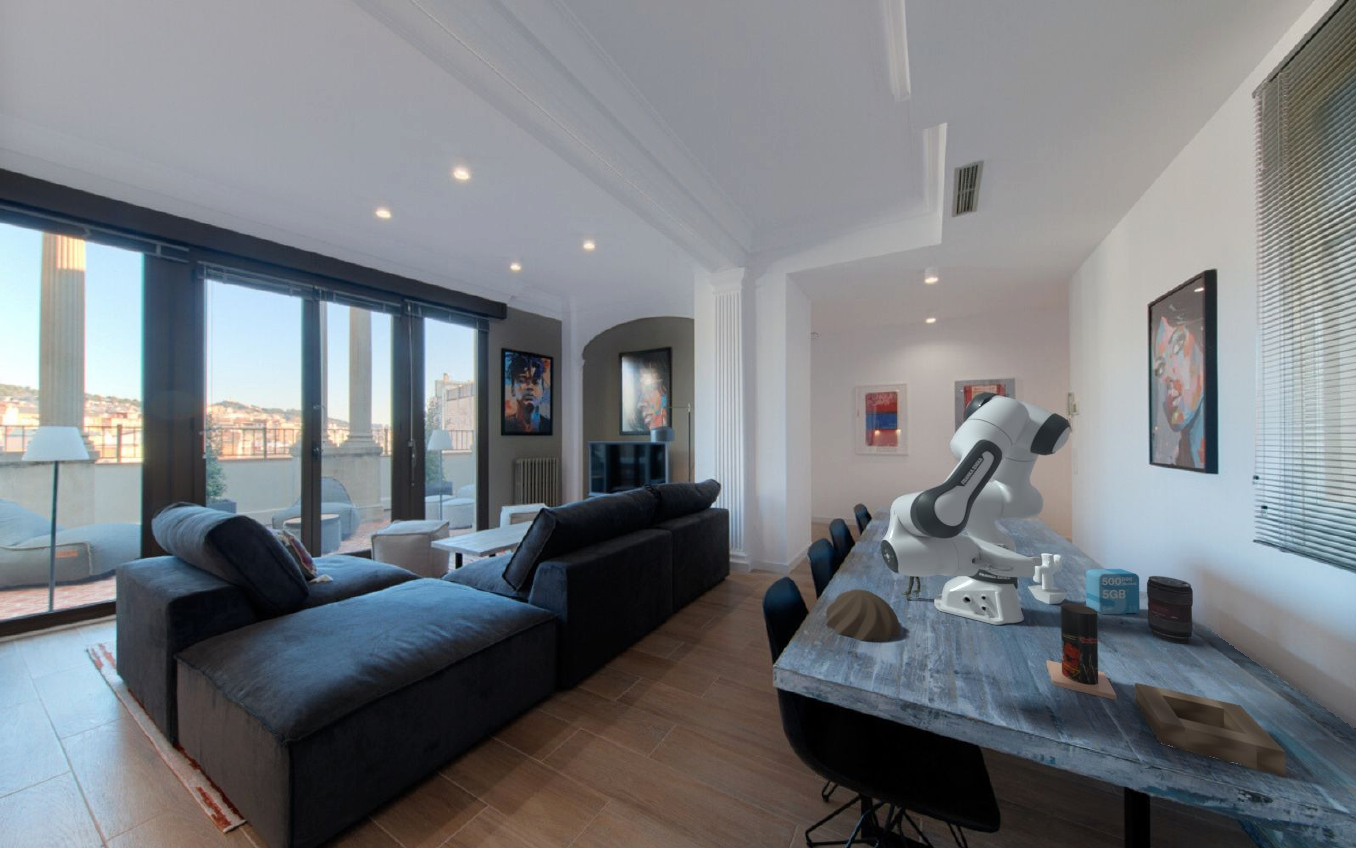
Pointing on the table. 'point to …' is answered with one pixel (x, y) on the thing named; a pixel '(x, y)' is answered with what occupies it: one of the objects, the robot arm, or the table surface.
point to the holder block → (1209, 728)
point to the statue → (912, 586)
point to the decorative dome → (862, 616)
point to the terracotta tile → (1098, 689)
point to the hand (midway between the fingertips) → (1022, 554)
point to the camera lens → (1170, 609)
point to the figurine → (1048, 580)
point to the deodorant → (1079, 643)
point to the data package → (1112, 591)
